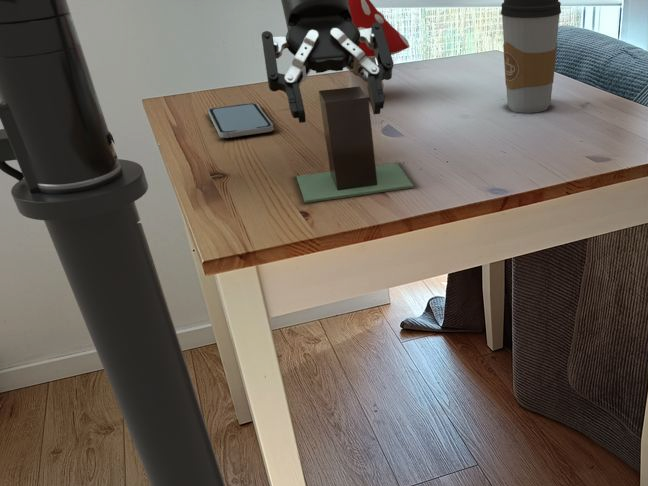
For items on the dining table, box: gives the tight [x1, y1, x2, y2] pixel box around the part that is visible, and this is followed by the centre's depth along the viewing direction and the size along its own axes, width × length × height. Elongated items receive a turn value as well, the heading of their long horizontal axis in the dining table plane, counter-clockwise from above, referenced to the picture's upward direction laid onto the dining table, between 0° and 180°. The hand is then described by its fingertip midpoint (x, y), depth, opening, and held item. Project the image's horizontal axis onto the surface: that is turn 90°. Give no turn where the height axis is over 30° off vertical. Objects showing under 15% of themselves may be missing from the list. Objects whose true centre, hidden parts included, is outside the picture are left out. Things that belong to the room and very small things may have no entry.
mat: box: [296, 162, 414, 204], centre depth 78 cm, size 12×8×1 cm, turn 108°
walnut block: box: [318, 87, 377, 190], centre depth 76 cm, size 4×5×10 cm
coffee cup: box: [500, 0, 562, 114], centre depth 98 cm, size 8×8×15 cm
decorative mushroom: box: [348, 0, 410, 99], centre depth 106 cm, size 14×14×15 cm
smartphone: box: [207, 102, 275, 139], centre depth 99 cm, size 7×1×15 cm
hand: (340, 114), depth 78 cm, fingers open, 8 cm apart
